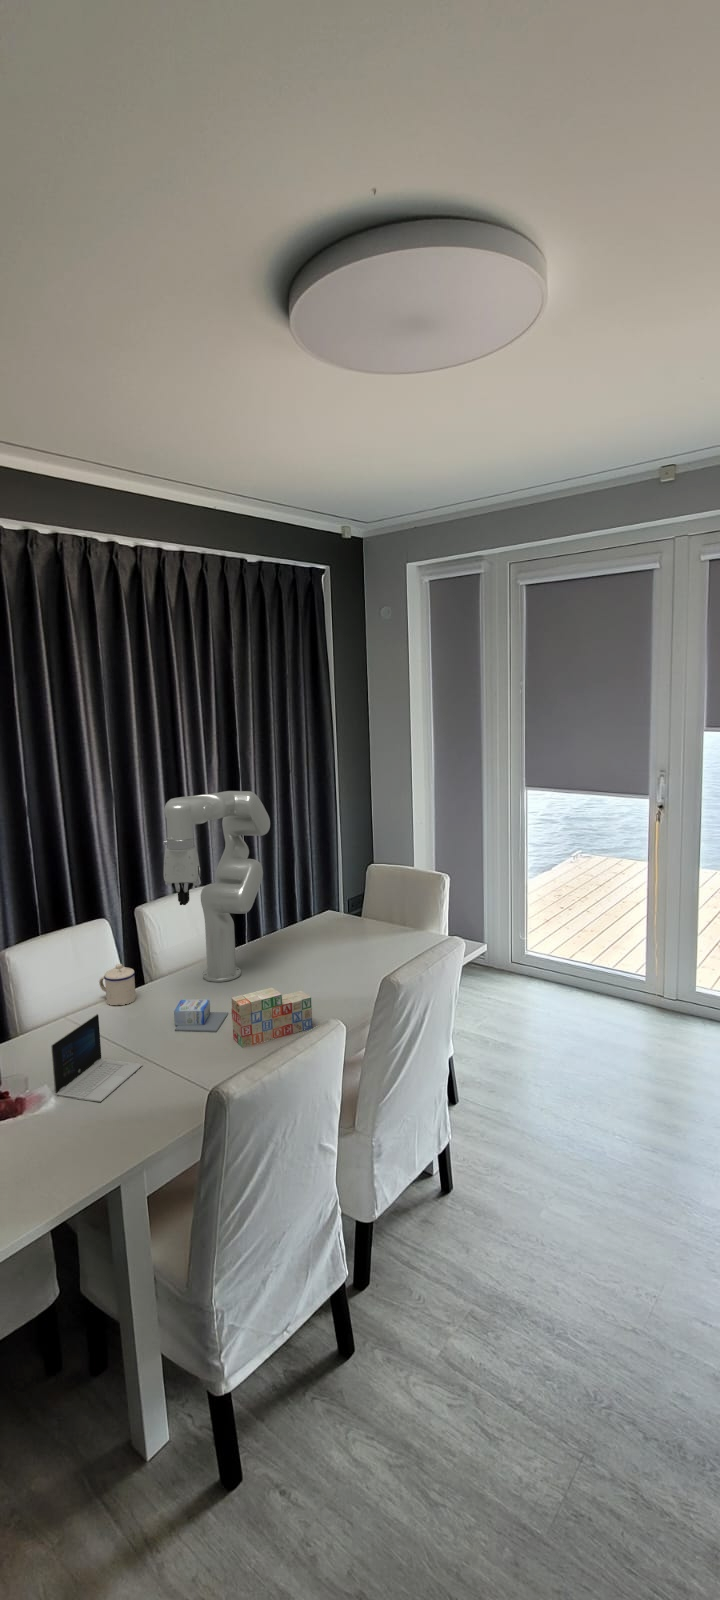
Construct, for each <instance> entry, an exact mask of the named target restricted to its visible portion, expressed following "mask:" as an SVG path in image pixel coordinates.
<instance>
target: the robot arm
mask: <svg viewBox="0 0 720 1600" xmlns="http://www.w3.org/2000/svg"><path fill="white" fill-rule="evenodd" d="M163 812H164V817H165V819H166V835H167V839H165V840H163V842H162V844H163V845H164V846H166V847H167V848H165V851H164V856H163V857H164V858H163V880H164V884H165V885H166V886H169V887H172V888H173V889H175V892H177V901H178V902H179V906H186V905H187V904H188V903H189V902H190V890H191V889H192V888H193V887H196V886H200V885H201V883H202V882H201V879H200V877H201V867H200V866H201V865H200V860H199V853H198V851H197V847H195V841H194V825H201V824H205V823H206V822H208V821H210V820H211V821H213V820H214V821H215V820H220V819H222V823H221V825H222V832H223V838H224V842H225V843H224V844H225V847H224V850H223V853H222V855H221V858H220V860H219V862H218V865H217V867H216V870H215V876H214V877H215V881H216V882H213V883H208V884H206V885H205V886H204V887H203V888H202V889H201V892H200V905H201V908H202V912H203V916H204V917H203V918H204V928H205V929H204V931H205V945H206V946H205V949H206V968H207V969H205V970H204V971H203V973H202V978H203V979H204V980H206V981H208V982H213V983H219V982H220V983H223V982H229V981H233V980H236V979H237V978H239V977H240V976H241V974H242V971H241V968H239V967H238V966H237V963H236V962H237V961H236V960H237V959H236V938H235V937H236V936H235V923H234V919H233V918H232V916H231V914H237V915H238V914H239V915H241V914H247V913H249V912H250V911H251V909H253V906H254V903H255V899H256V898H257V894H258V892H259V890H260V887H261V884H262V881H263V875H264V872H263V866H262V863H261V862H260V861H258V860H257V859H253V858H249V855H250V849H249V846H248V845H247V843H246V842H245V839H243V837H242V836H253V837H254V836H257V837H259V836H260V837H261V836H265V835H267V834H268V833H269V831H270V828H271V819H270V816H269V814H268V812H267V810H266V808H265V805H264V804H263V803H262V801H261V799H260V798H259V796H258V795H257V794H256V793H255V792H253V791H250V790H249V791H248V790H245V791H244V790H226V791H225V790H224V791H220V792H214V793H208V794H207V793H205V794H197V795H189V796H188V795H187V796H180V797H174V798H170V799H169V800H167V802H166V803H165V806H164V809H163Z"/></svg>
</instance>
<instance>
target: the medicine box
mask: <svg viewBox="0 0 720 1600" xmlns="http://www.w3.org/2000/svg"><path fill="white" fill-rule="evenodd" d="M210 1012H211V1001H210V999H180V1000H179V1002H178V1004H177V1005H176V1008H175V1009H174V1010H173V1016H174V1017H173V1018H174V1020H173V1021H174V1025H175V1026H178V1025H204V1024H205V1022H206V1020H207V1018H208V1016H209V1014H210Z"/></svg>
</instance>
